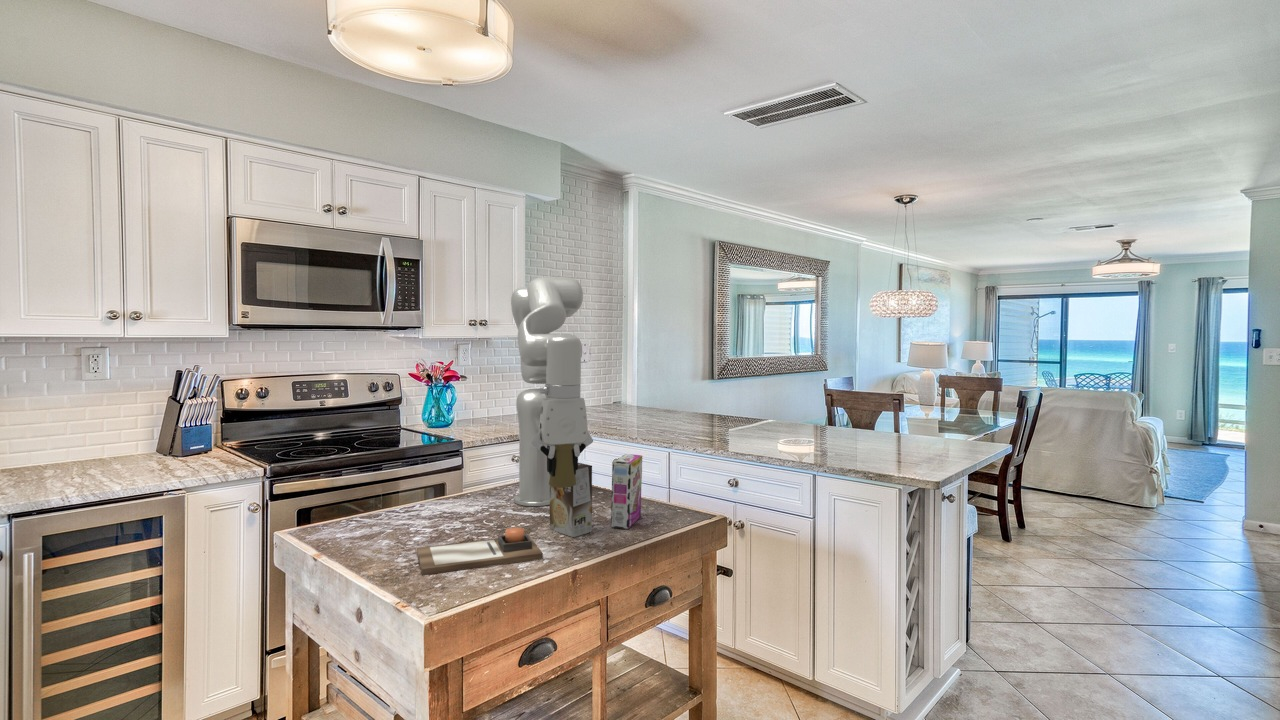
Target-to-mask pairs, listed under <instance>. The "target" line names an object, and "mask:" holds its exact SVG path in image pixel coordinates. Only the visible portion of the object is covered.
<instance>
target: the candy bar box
mask: <svg viewBox="0 0 1280 720" xmlns="http://www.w3.org/2000/svg"><path fill="white" fill-rule="evenodd" d="M611 466H612V467H611V469H612V470H611V500H610V501H611V509H610V528H612V529H619V528H620V529H621V530H629V529H630V528H632V526H633V525H634V524H635V523H637V521H638V520H639V519H640V518H641V516H642V512H641V511H642V480H643V477H642V476H643V455H640V454H631V453H629V454H624V455H622V456H620V457H618V458H617V459H615V460H613V461H612V465H611Z"/></svg>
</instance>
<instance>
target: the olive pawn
mask: <svg viewBox="0 0 1280 720" xmlns="http://www.w3.org/2000/svg"><path fill="white" fill-rule="evenodd" d="M573 448H574V444H564V445H555V452H554V458H555V459H556V470H555V476H554V477H552V476H551V475H550V479H549V485H550V486H553V487H562V488H563V487H571V486H574V485H576V478H575V474H574V466H573V452H572V449H573Z"/></svg>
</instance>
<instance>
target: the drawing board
mask: <svg viewBox="0 0 1280 720" xmlns="http://www.w3.org/2000/svg"><path fill="white" fill-rule="evenodd" d="M416 549H417V550H416V554H417V558H418V563H419V567H420V571H421V575H422V576H425V575H426V576H427V575H434V574H440V573H447V572H448V573H449V572H455V571H461V570H463V571H464V570H469V569H470V570H471V569H477V568H485V567H492V566H493V567H494V566H499V565H500V566H501V565H508V564H514V563H515V564H516V563H521V562H528V561H529V562H530V561H536V560H537V559H538V560H543V559H544V552H543V551H542V550H541V549H540V548H539V547H538V545H537V544H536V542H535V541H534V540H533V539H532V538H531V536H530V535H529V534H527V533H525V532H524V540H523V541H520V542H507V541H506V540H505V535H498V536H497V537H496V538H489V539H480V540H479V539H478V540H472V541H463V542H455V543H447V544H438V545H430V546H428V545H427V546H421V547H416ZM538 560H537V561H538Z"/></svg>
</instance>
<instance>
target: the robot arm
mask: <svg viewBox="0 0 1280 720" xmlns="http://www.w3.org/2000/svg"><path fill="white" fill-rule="evenodd" d="M583 299H584V292H583V287H582V286H581V283H580V282H579V281H578V280H577V279H575V278H572V277H554V276H553V277H552V276H541V277H536V278H533V279H532V280H531V281H530V282H529V283H528V285H527V286H524V287H518V288H516V289H515V290H513V291H512V293H511V297H510V306H511V313H512V316H513V321H514V323H515V326H516V328H517V345H518V351H519V356H520V372H521V377H522V380H523V381H524V382H525V383H526V384H533V385H544V387H540V388H528V389H524V390H523V391H521V392H520V393H519V394H518V395H517V396H516V402H515V403H516V405H515V407H516V412H517V419H518V420H517V421H518V430H519V431H518V432H519V433H518V435H519V446H518V447H519V450H518V451H519V452H518V453H519V455H518V457H519V459H518V460H519V461H518V463H519V467H518V469H519V470H518V471H519V472H518V474H519V476H518V477H519V479H518V484H519V485H518V486H519V488H518V489H519V491H518V492H519V493H517V494H515V495H514V497H513V502H514V503H515V504H516V505H520V506H526V507H544V506H550V485H549V479H550V475H551V476H552V477H554V476H555V470H556V459H555V458H554V452H555V445H564V444H574V448H573V449H572V452H573V466H574V474H575V475H576V470H578V463H579V457H580V455H581V453H582V452H583V451H584V450H586V448H587V447H588V446H590V445H591V444H592V443H593V442H594V439H593V438H592V436H591V434H590V433H589V431H588V416H587V408H586V400H585V398H584V397H581V392H582V391H581V387H582V385H581V384H582V383H581V381H582V377H581V376H582V375H581V373H582V356H583V344H582V341H581V340H580V339H579V338H578V336H576V335H574V334H568V333H567V334H565V333H564V334H563V333H552V332H555V331H558V330H559V329H560V328H562V326H564V324H565V322H566V319H568V318H570V317H572V316H573V315H574V314H575V313H576V312H577V313H578V310H580V308H581V307H582V304H583Z"/></svg>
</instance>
